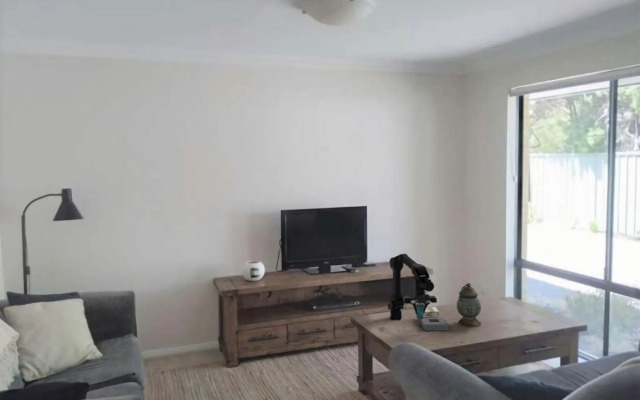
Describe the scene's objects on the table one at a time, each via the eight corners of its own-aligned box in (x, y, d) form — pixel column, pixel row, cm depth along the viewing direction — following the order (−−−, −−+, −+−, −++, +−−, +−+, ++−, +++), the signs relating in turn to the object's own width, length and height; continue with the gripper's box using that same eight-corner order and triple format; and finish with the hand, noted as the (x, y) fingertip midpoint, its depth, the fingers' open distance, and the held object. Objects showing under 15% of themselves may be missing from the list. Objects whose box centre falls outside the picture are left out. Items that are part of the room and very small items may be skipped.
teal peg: (417, 319, 286) (417, 305, 285) (415, 317, 290) (415, 303, 289) (424, 319, 286) (424, 305, 285) (422, 317, 290) (422, 303, 289)
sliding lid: (424, 316, 304) (424, 311, 304) (421, 312, 313) (421, 307, 313) (438, 316, 304) (438, 311, 304) (435, 311, 313) (435, 307, 313)
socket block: (424, 330, 290) (424, 324, 290) (420, 322, 304) (420, 317, 304) (448, 330, 290) (448, 324, 290) (443, 322, 304) (443, 316, 304)
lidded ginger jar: (482, 327, 292) (482, 286, 290) (457, 326, 295) (457, 285, 293) (479, 320, 306) (479, 280, 304) (456, 319, 309) (455, 280, 307)
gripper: (405, 291, 278) (405, 318, 280) (438, 290, 278) (439, 318, 279) (402, 286, 290) (403, 312, 291) (434, 285, 289) (434, 312, 290)
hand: (419, 313), depth 288 cm, fingers closed on teal peg, 4 cm apart
